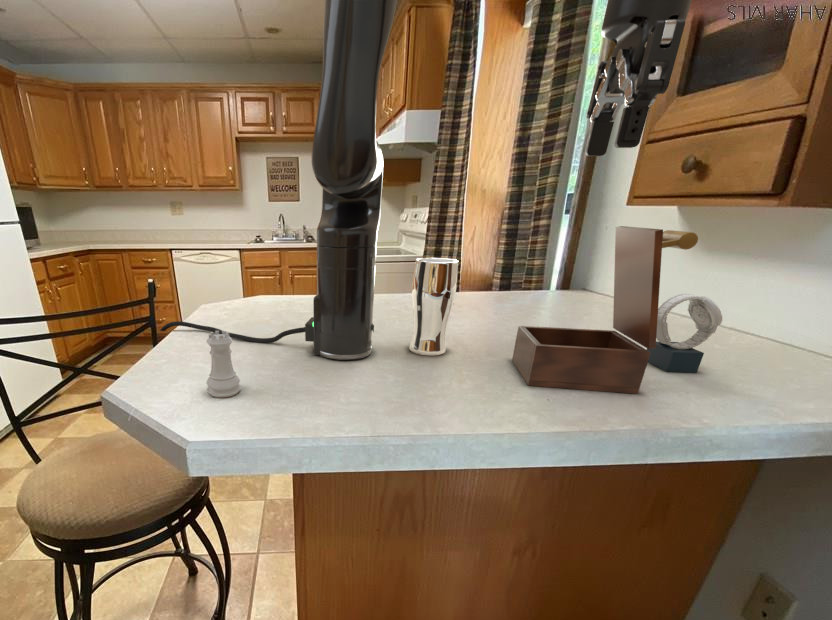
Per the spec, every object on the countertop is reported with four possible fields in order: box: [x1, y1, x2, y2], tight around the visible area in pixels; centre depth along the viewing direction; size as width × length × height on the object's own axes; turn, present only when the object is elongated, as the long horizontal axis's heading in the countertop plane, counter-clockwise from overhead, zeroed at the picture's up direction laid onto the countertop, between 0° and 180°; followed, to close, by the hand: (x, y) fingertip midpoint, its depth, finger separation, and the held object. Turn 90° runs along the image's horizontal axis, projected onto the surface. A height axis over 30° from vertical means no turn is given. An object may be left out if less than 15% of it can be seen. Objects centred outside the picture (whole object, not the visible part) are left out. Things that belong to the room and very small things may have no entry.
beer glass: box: [408, 257, 459, 357], centre depth 70 cm, size 7×7×15 cm
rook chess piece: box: [206, 330, 242, 398], centre depth 54 cm, size 4×4×8 cm
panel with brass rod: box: [612, 225, 699, 350], centre depth 55 cm, size 14×11×6 cm
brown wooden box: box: [511, 325, 651, 395], centre depth 61 cm, size 14×11×6 cm
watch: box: [646, 293, 723, 374], centre depth 64 cm, size 6×8×11 cm
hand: (609, 152), depth 50 cm, fingers open, 8 cm apart
